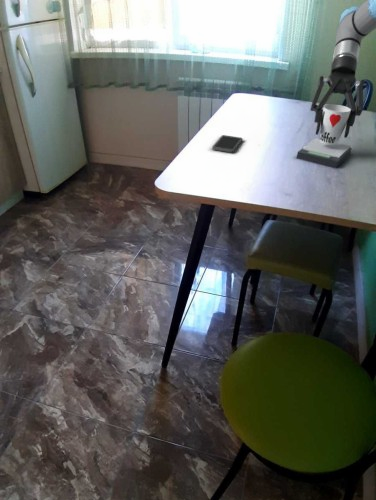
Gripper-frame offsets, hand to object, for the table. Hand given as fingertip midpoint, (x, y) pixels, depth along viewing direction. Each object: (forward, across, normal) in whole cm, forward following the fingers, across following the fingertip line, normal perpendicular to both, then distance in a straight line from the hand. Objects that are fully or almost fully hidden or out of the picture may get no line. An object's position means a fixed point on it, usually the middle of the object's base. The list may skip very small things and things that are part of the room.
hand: (331, 133), depth 127 cm
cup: (0, 0, -5) cm, 5 cm away
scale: (+4, 0, -7) cm, 8 cm away
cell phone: (+4, +32, -6) cm, 33 cm away
